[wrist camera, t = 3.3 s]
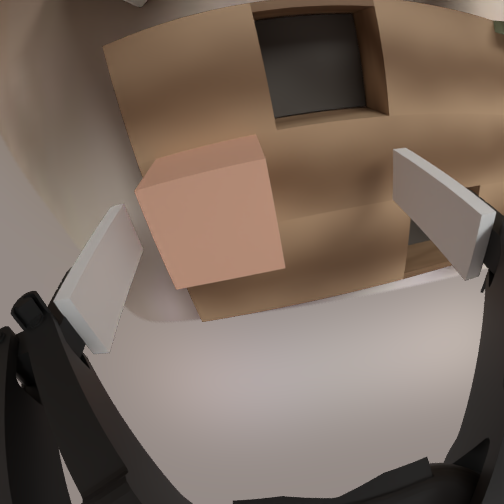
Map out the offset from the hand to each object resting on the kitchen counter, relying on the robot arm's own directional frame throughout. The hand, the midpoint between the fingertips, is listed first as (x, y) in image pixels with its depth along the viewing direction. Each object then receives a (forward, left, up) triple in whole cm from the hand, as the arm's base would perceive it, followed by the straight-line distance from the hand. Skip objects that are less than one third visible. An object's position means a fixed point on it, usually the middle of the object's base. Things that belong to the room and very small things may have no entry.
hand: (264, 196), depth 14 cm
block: (0, -2, -2) cm, 3 cm away
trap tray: (0, +8, -5) cm, 10 cm away
